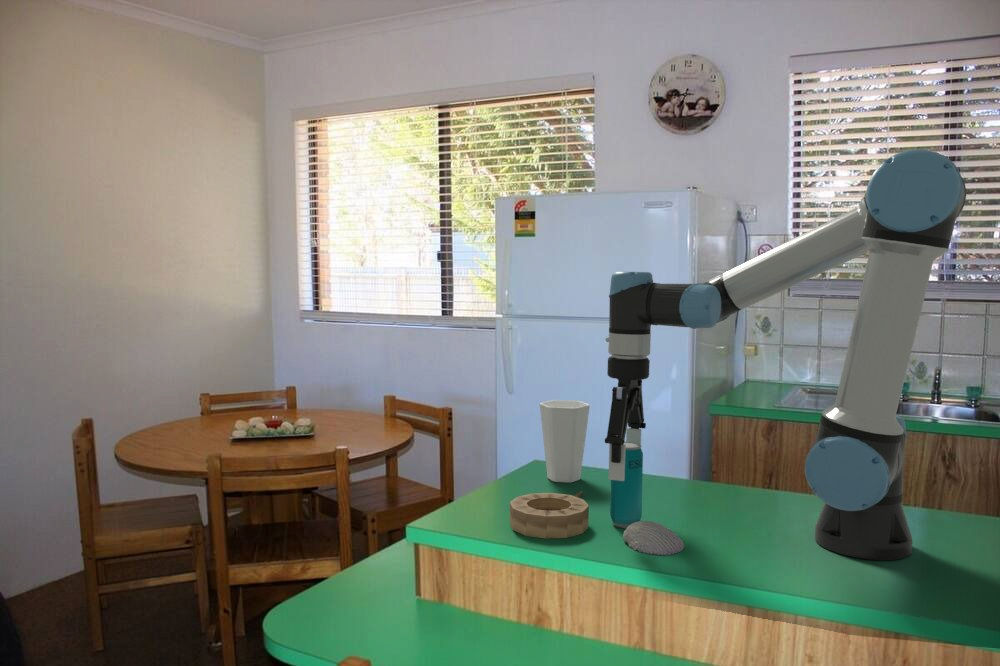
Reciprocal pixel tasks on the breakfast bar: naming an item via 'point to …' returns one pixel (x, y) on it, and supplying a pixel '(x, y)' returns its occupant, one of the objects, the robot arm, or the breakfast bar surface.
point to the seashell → (652, 538)
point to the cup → (564, 438)
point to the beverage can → (628, 489)
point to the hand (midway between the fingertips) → (625, 470)
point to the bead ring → (549, 515)
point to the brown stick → (578, 495)
